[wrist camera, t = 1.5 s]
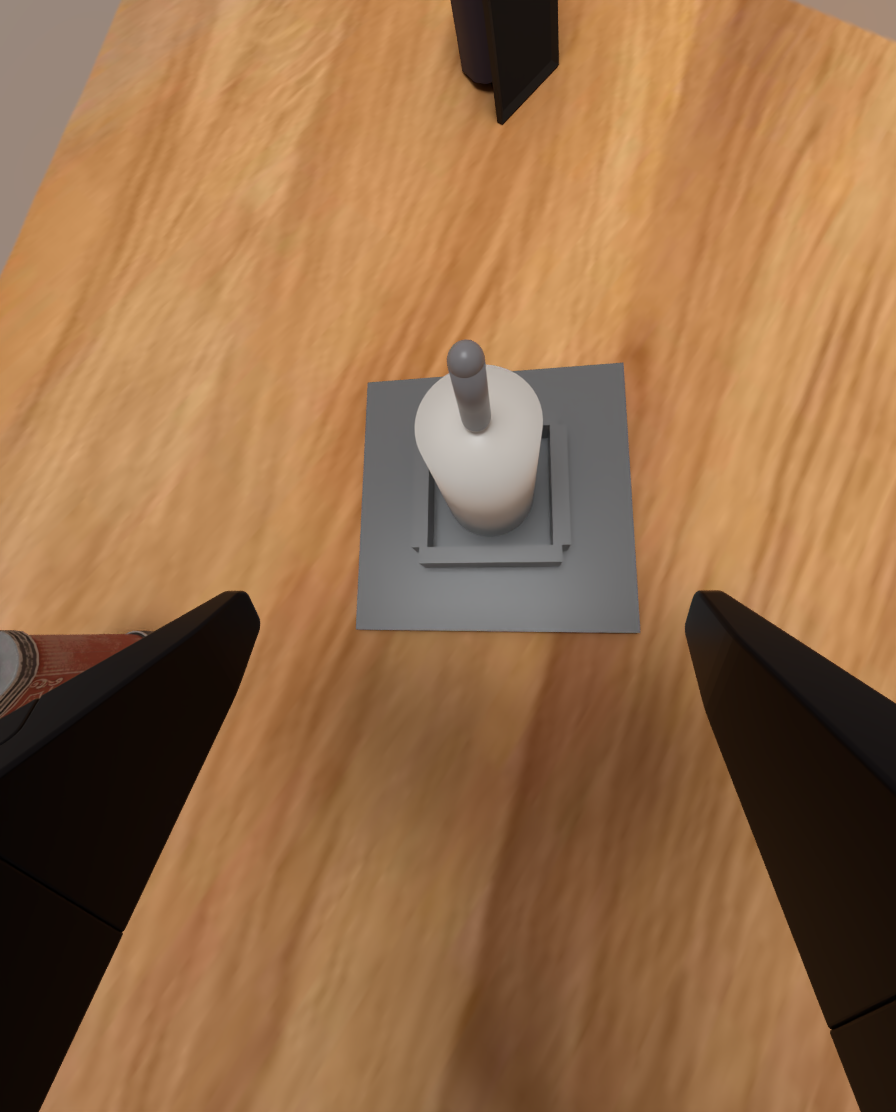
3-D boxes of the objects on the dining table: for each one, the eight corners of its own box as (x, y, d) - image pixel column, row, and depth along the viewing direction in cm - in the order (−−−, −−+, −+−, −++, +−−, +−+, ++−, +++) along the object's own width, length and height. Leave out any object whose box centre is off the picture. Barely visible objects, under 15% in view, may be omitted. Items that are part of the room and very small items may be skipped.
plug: (549, 508, 22) (588, 368, 10) (475, 552, 22) (429, 463, 10) (505, 440, 23) (495, 242, 11) (434, 482, 23) (351, 331, 11)
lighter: (150, 617, 25) (-83, 607, 15) (177, 665, 24) (-51, 687, 14) (43, 702, 25) (-257, 748, 15) (66, 753, 24) (-234, 834, 15)
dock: (637, 633, 21) (650, 632, 19) (359, 629, 23) (344, 629, 21) (620, 368, 23) (630, 344, 21) (370, 387, 25) (358, 367, 23)
